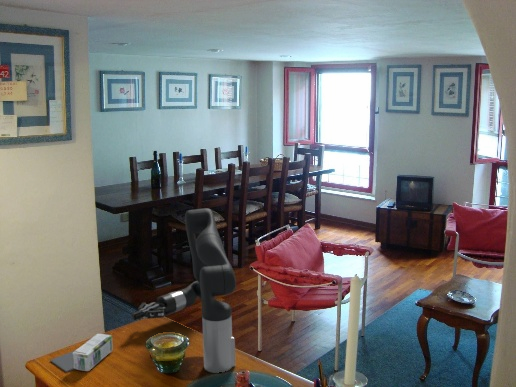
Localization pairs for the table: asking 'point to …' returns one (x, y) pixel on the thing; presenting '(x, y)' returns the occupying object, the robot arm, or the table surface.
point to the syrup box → (92, 352)
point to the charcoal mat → (64, 361)
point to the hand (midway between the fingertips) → (132, 317)
